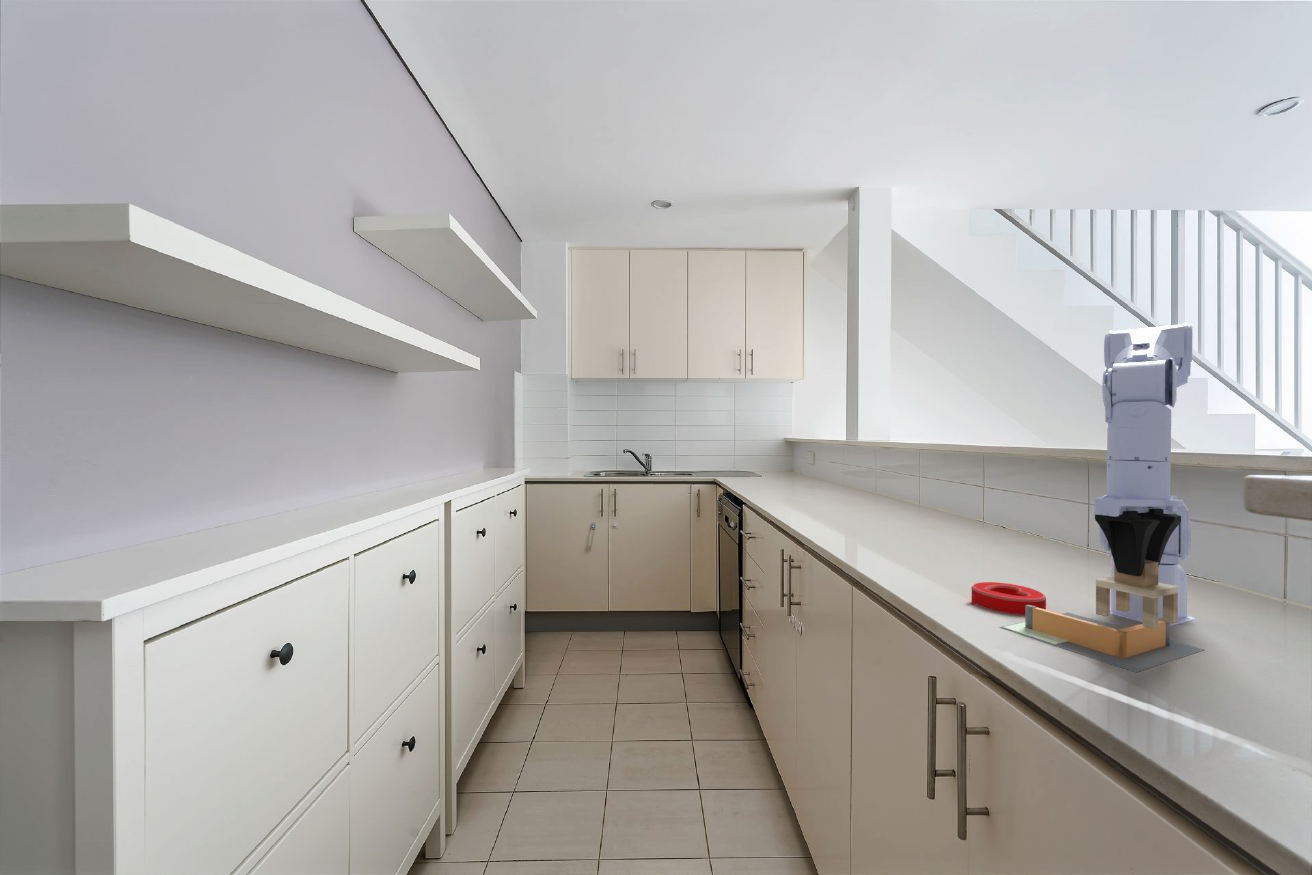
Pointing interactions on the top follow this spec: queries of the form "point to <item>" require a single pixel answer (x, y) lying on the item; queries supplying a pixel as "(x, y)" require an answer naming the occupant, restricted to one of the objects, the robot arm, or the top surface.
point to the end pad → (1035, 634)
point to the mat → (1132, 662)
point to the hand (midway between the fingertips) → (1136, 572)
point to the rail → (1098, 633)
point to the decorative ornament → (1006, 597)
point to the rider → (1139, 586)
